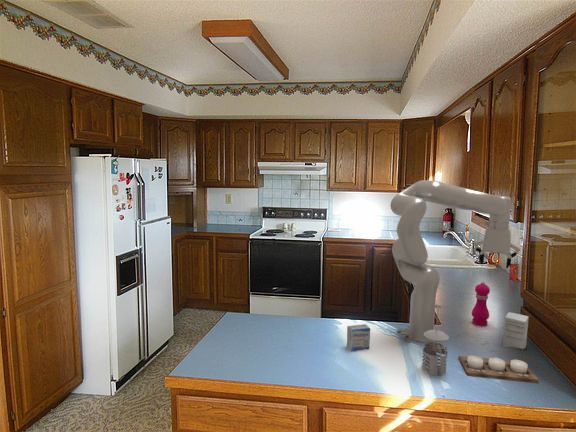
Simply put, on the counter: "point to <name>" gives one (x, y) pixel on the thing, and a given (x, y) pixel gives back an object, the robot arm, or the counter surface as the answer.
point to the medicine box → (358, 337)
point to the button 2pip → (518, 366)
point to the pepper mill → (481, 305)
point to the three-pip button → (474, 362)
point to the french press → (435, 350)
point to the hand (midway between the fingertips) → (494, 265)
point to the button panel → (497, 374)
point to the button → (496, 364)
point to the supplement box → (515, 330)
